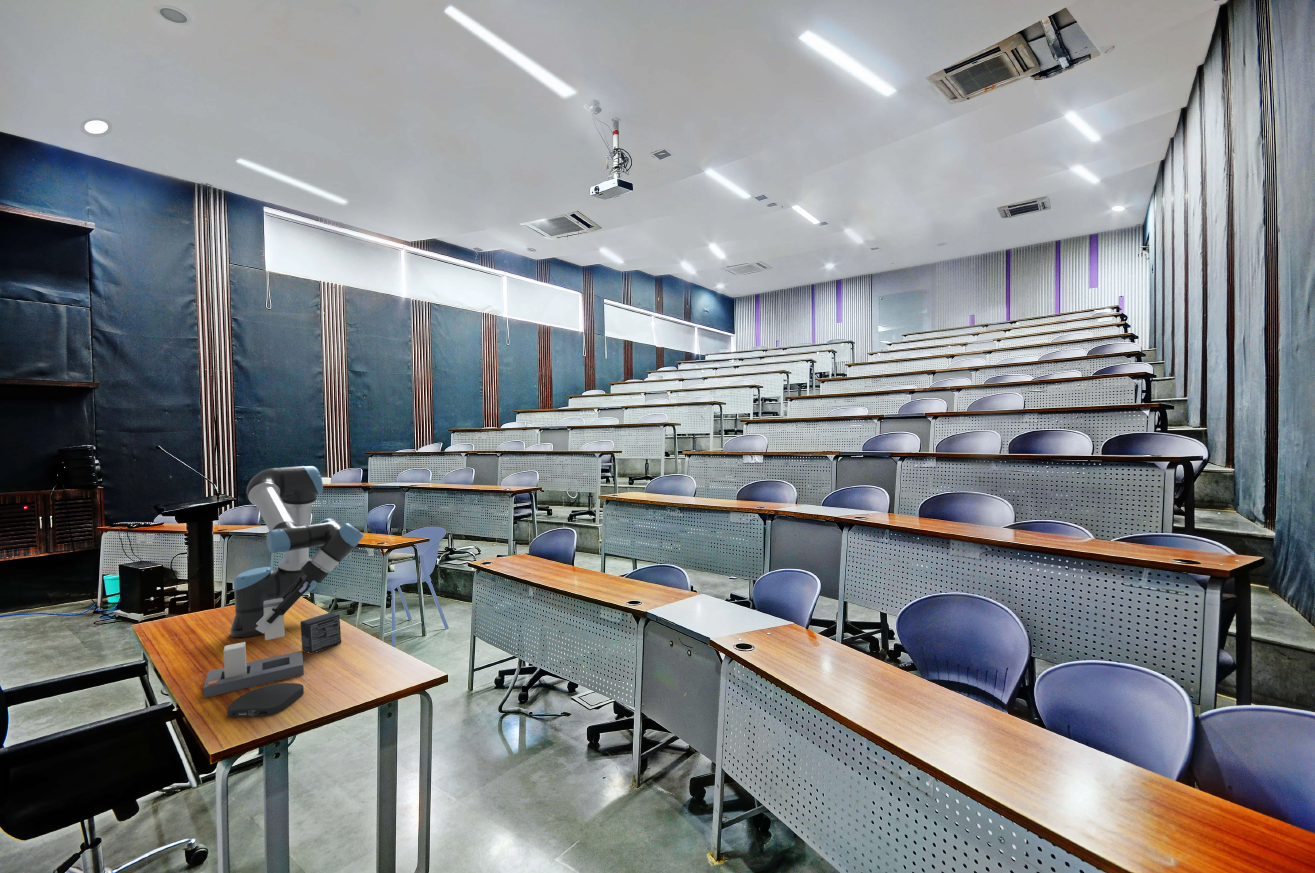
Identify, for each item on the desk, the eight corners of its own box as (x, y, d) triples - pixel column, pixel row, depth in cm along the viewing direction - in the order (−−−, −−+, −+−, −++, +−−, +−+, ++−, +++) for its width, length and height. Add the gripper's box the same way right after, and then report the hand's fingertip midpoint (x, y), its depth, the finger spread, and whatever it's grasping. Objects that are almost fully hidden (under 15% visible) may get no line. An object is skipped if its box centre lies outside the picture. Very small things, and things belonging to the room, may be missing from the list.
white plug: (265, 635, 172) (263, 600, 172) (284, 631, 175) (283, 597, 174) (265, 640, 168) (263, 604, 168) (284, 636, 170) (283, 601, 170)
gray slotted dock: (209, 680, 167) (207, 644, 167) (302, 659, 181) (300, 626, 181) (203, 698, 156) (202, 659, 156) (303, 674, 169) (302, 638, 169)
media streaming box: (309, 690, 159) (309, 680, 159) (276, 717, 144) (276, 705, 144) (258, 693, 158) (258, 683, 158) (220, 720, 144) (219, 708, 144)
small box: (332, 640, 198) (330, 611, 198) (342, 643, 195) (340, 613, 195) (300, 650, 189) (299, 620, 189) (310, 654, 186) (309, 623, 185)
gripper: (331, 578, 172) (270, 643, 163) (327, 567, 187) (271, 626, 178) (310, 564, 169) (247, 630, 160) (308, 554, 184) (250, 614, 175)
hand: (259, 628), depth 169 cm, fingers closed on white plug, 5 cm apart
